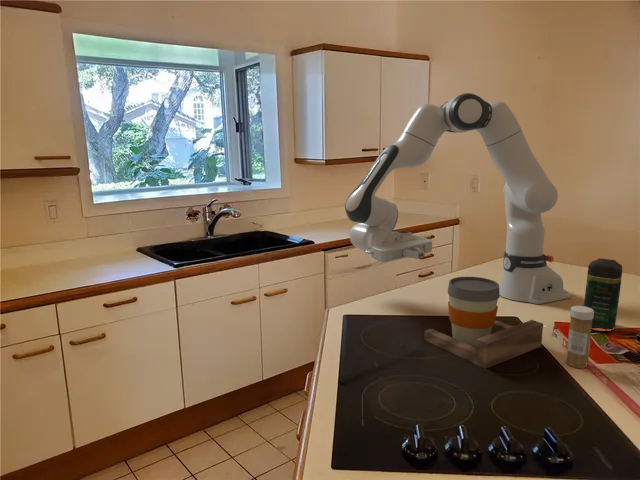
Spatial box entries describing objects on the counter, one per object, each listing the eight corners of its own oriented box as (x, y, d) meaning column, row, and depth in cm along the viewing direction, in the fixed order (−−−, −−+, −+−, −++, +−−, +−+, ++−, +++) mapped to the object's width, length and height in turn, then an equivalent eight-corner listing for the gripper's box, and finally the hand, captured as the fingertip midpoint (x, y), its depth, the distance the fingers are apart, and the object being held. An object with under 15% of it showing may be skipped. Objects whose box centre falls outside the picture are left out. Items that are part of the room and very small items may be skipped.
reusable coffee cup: (507, 341, 120) (511, 285, 117) (474, 354, 113) (477, 294, 110) (467, 326, 130) (470, 273, 127) (435, 336, 124) (437, 281, 120)
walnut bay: (424, 339, 122) (425, 317, 120) (478, 322, 133) (479, 302, 131) (485, 368, 106) (486, 343, 105) (541, 346, 117) (543, 323, 116)
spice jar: (591, 365, 107) (598, 309, 104) (581, 371, 104) (587, 313, 102) (572, 358, 111) (577, 303, 108) (561, 363, 108) (566, 307, 105)
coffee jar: (614, 336, 122) (622, 266, 119) (579, 329, 127) (586, 262, 123) (616, 324, 130) (624, 258, 126) (583, 318, 135) (590, 255, 131)
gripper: (362, 240, 139) (394, 250, 128) (412, 230, 150) (446, 239, 139) (361, 260, 141) (393, 272, 130) (411, 249, 152) (444, 260, 141)
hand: (421, 255), depth 134 cm, fingers closed
